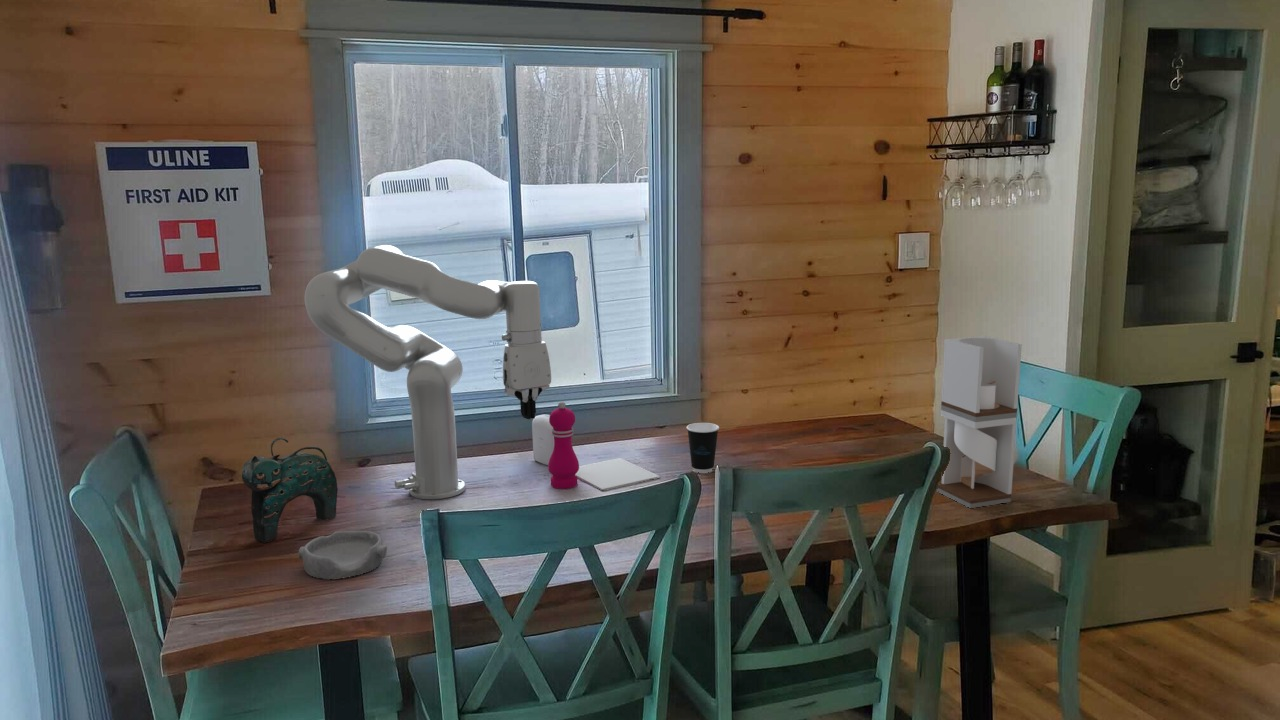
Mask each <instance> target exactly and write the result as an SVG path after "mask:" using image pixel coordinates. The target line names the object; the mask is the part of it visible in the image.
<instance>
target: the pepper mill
mask: <svg viewBox="0 0 1280 720" xmlns="http://www.w3.org/2000/svg"><path fill="white" fill-rule="evenodd" d="M557 406H558V407H557V408H555V409H554V410H552V411H551V412H550V414H549V415H550V417H549V423H550V425H551V426H552V427H553V429H552V436H554V450H553V453H552V455H551V457H550V459H549V463H548V465H547V470H548V472H549V474H551V477H550V486H551V487H552V488H554V489H560V490H564V489H565V490H567V489H572V488H573V489H574V488H575V487H576V486H577V485H578V478H577V476H576V475H575V474H576V473H577V472H578V470H579V466H580V463H579V460H578V457H577V455H576V453H575V451H574V448H573V444H572V443H573V442H572V439H573V438H572V436H574V428H573V426H574V425H575V423H576V416H575V413H574V411H572V410H571V409H570V408H567V407H566V402H564V401H560V402H558V403H557Z"/></svg>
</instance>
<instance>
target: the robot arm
mask: <svg viewBox="0 0 1280 720" xmlns="http://www.w3.org/2000/svg"><path fill="white" fill-rule="evenodd" d="M381 289H384V290H387V291H391V292H394V293H398V294H401V295H405V296H409V297H412V298H414V299H418V300H422V301H423V302H426V304H429V305H432V306H434V307H436V308H438V309H440V310H443V311H446V312H449V313H452V314H456V315H459V316H463V317H466V318H471V319H475V320H487V319H490V318H492V317H493V316H494V315H497V314H500V313H505V319H506V332H505V334H502V335H501V340H502V341H503V342H504V341H505V342H506V344H505V345H504V349H503V357H502V358H503V359H502V382H503V386H504V391H503V393H504V394H505V395H506V396H510V397H511V396H512V397H515V398H516V399H518V400H519V403H520V414H521V415H522V417H523V418H524V419H526V420H531V419H532V420H533V419H534V418H535V417H536V414H537V406H536V403H537V400H538V398H539V396H540V394H541V393H542V392H545V391H546V390H549V389H550V387H551V386H550V384H551V383H552V369H551V364H550V363H551V362H550V356H549V352H548V347H547V343H546V341H542V320H541V319H542V318H541V301H540V287H539V284H538V283H537V282H535V281H532V280H517V281H511V282H510V281H501V280H495V279H493V280H484V281H482V282H480V283H475V282H472V281H468V280H465V279H464V280H463V279H460V278H457V277H455V276H452V275H448V273H447V274H446V273H445V272H443V271H442V270H441V269H440V267H438V265H436V264H435V263H434V262H431V261H429V260H424V259H421V258H418V257H414V256H410V255H406V254H404V253H403V252H402V251H401V250H400V249H399V248H398V247H396V246H393V245H390V244H389V245H388V244H382V245H377V246H371V247H369V248H366V249H365V250H363V251H362V252H361V253H360V254H359V255H358V257H357V259H356V260H353V261H352V262H350V263H348V264H346V265H345V266H343V267H340V268H337V269H332V270H328V271H325V272H321V273H319V274H317V275H315V276H314V277H313V278H311V279H310V280H309V282H308V284H307V285H306V289H305V291H304V306H305V311H306V313H307V315H308V318H309V319H310V321H311V322H312V324H314V326H315V327H316V328H317V329H318V331H320V332H321V333H323V334H324V335H326V336H328V337H329V338H331V339H332V340H334V341H335V342H337V343H340V345H342V346H344V347H346V348H347V349H348V350H350V351H352V352H353V353H354V354H356V355H357V356H359V357H361V358H362V359H364V360H366V361H367V362H369V363H371V364H373V365H374V366H375V367H377V368H379V369H380V370H381V371H384V372H387V373H394V372H398V371H400V370H402V369H406V370H408V372H407V376H406V389H407V393H408V398H409V404H410V412H411V424H412V425H411V426H412V436H413V437H412V439H413V440H412V441H413V453H414V454H413V455H414V471H415V472H413V471H412V472H411V476H408V477H407V478H405V479H403V478H402V479H397V480H395V481H394V487H395V489H396V490H399V489H404V490H405V491H407V490H409V494H410V495H411V496H412V497H413V498H417V499H419V500H420V499H422V500H442V499H447V498H448V499H449V498H453V497H455V496H458V495H460V494H462V493H463V492H464V491H466V483H465V481H463V480H462V479H459V471H458V469H459V468H458V449H457V447H458V446H457V431H456V416H455V407H454V401H453V396H452V388H453V387H454V386H455V385H457V383H458V382H459V381H460V379H461V378H462V376H463V369H464V368H463V363H462V361H461V359H460V357H459V356H458V355H457V354H456V353H455V352H454V351H453V350H451V349H449V348H448V347H447V346H446V345H444V344H441V342H438V341H437V340H435V339H434V338H432V337H430V336H428V335H427V334H425V333H424V332H422V331H420V330H419V329H417V328H415V327H413V326H410V325H405V324H398V325H394V326H391V327H389V326H386V325H384V324H382V323H380V322H378V321H376V319H374V318H372V317H371V316H369V315H368V314H366V313H363V312H362V311H359V310H357V309H355V308H352V307H351V306H350V305H352V304H354V303H357V302H359V301H360V300H362V299H365V298H366V297H369V296H370V295H372V294H374V293H376V292H377V291H380V290H381Z"/></svg>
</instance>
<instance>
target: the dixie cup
mask: <svg viewBox="0 0 1280 720" xmlns="http://www.w3.org/2000/svg"><path fill="white" fill-rule="evenodd" d="M686 429H687V435H688V444H689V452H690V463H691V468H692V471H693V472H694V473H696V474H697V473H698V472H699V473H698V474H709V473H712V472H713V470H712V469H713V468H714V467H715V460H716V450H717V449H716V448H717V441H718V435H719V434H718V433H719V429H720V426H719V425H718V424H715V423H712V422H711V423H710V422H695V423H694V422H693V423H690V424H688V425H687V426H686ZM693 469H694V470H693ZM708 472H709V473H708Z"/></svg>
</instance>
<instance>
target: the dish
mask: <svg viewBox="0 0 1280 720" xmlns="http://www.w3.org/2000/svg"><path fill="white" fill-rule="evenodd" d="M387 550H388V546H387V545H383V541H382V538H381V536H380V535H379V534H378V533H376V532H372V531H369V530H339V531H335V532H333V533H331V534H329V535H327V536H325V535H321V536H318V537H315V538H313V539H312V540H310V541H309V542H307V543H306V544H305V545H304V546H300V548H299V549H298V558H299V559H300V560H302V564H303V568H304V571H305V573H306V574H308V575H309V576H311V577H312V576H313V577H312V578H315V577H316V579H319V578H323V579H322V580H330V579H332V580H335V579H334V578H343V577H349V576H354V577H356V576H355V575H358V576H360V575H359V574H361V575H364V574H363V573H365V574H367V573H369V571H370V572H372V571H374V570H376V569H377V568H378V567H379V566H380V565H381V564H382V561H383V559H384V558H385V557H386V556H387ZM376 567H377V568H376ZM373 569H374V570H373ZM371 570H372V571H371ZM366 572H367V573H366ZM349 578H350V577H349ZM343 579H344V578H343Z"/></svg>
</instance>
